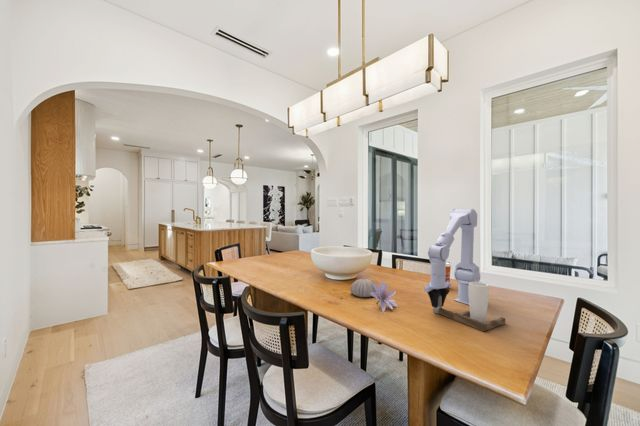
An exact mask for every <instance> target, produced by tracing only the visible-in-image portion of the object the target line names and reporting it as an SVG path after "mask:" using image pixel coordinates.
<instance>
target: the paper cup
mask: <svg viewBox="0 0 640 426" xmlns="http://www.w3.org/2000/svg"><path fill="white" fill-rule="evenodd" d="M451 267H452V264H451V262H447V261H446V276H445V282H449V283H451V282H450V281H451ZM446 289H449V290H450V288H449V287H447V288H446Z"/></svg>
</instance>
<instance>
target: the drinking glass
mask: <svg viewBox="0 0 640 426" xmlns="http://www.w3.org/2000/svg"><path fill="white" fill-rule="evenodd" d="M489 294H490V286H489V284H488V283H486V282H480V281H479V282H469V287H468V295H469V305H468V306H469V310H470V317H469V318H472V319H475V320H477V321H480V322H483V323H486V322H487V313H488V305H489V297H490V295H489Z"/></svg>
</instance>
